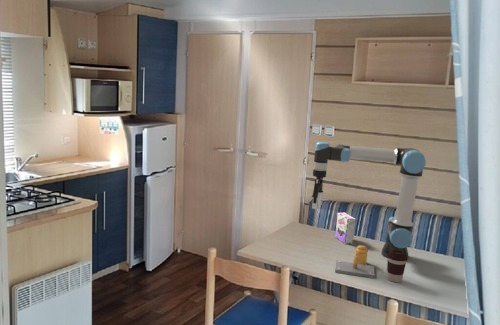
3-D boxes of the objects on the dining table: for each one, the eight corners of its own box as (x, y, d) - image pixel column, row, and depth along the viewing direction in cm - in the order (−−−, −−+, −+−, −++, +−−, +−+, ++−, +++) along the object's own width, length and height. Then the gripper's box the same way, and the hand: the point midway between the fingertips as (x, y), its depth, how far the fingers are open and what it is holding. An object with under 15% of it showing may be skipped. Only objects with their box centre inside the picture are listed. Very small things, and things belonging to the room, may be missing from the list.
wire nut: (365, 262, 272) (368, 245, 270) (366, 266, 266) (368, 249, 264) (354, 260, 273) (356, 244, 271) (354, 264, 267) (356, 247, 265)
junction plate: (373, 268, 263) (375, 255, 262) (374, 278, 250) (376, 264, 248) (336, 263, 267) (337, 249, 266) (334, 272, 254) (336, 258, 252)
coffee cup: (389, 274, 256) (392, 247, 254) (407, 280, 250) (411, 252, 248) (381, 279, 249) (384, 251, 246) (399, 285, 243) (403, 257, 240)
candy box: (334, 236, 314) (337, 212, 311) (342, 236, 315) (345, 212, 313) (344, 244, 301) (347, 218, 298) (353, 243, 302) (356, 218, 300)
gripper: (316, 165, 288) (313, 200, 291) (309, 172, 264) (305, 210, 268) (329, 167, 286) (326, 202, 289) (323, 173, 262) (319, 212, 265)
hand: (316, 206), depth 278 cm, fingers open, 13 cm apart
